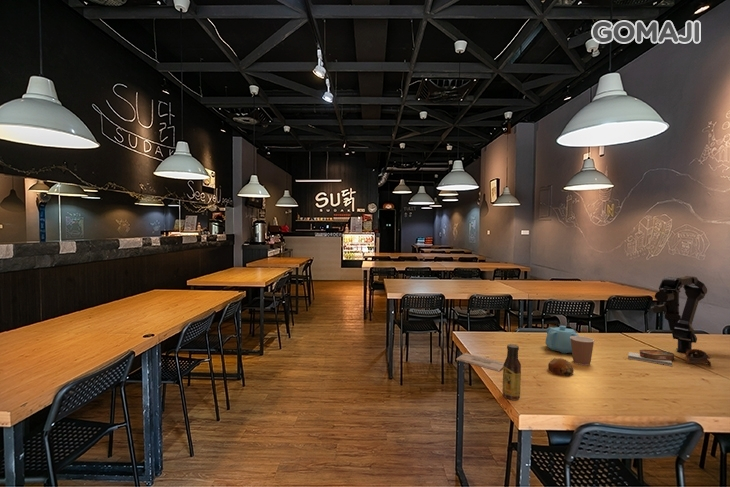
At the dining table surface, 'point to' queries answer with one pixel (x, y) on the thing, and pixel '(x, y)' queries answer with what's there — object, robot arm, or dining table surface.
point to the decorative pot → (560, 339)
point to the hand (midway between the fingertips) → (671, 330)
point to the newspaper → (481, 361)
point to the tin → (657, 354)
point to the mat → (638, 357)
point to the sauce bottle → (512, 373)
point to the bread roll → (560, 367)
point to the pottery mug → (697, 356)
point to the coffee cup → (582, 349)
